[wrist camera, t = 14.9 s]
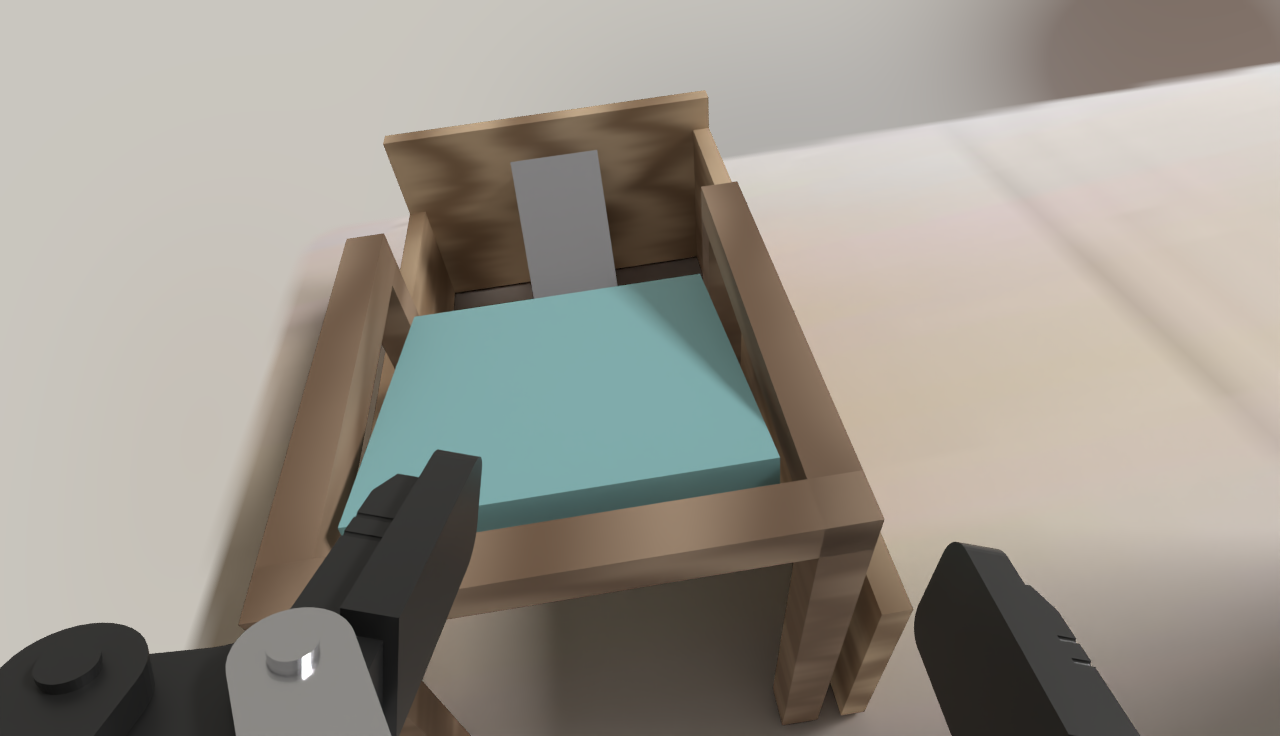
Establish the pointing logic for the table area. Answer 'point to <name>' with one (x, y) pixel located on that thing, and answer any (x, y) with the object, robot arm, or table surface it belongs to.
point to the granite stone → (564, 223)
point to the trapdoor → (575, 404)
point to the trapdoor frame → (626, 538)
